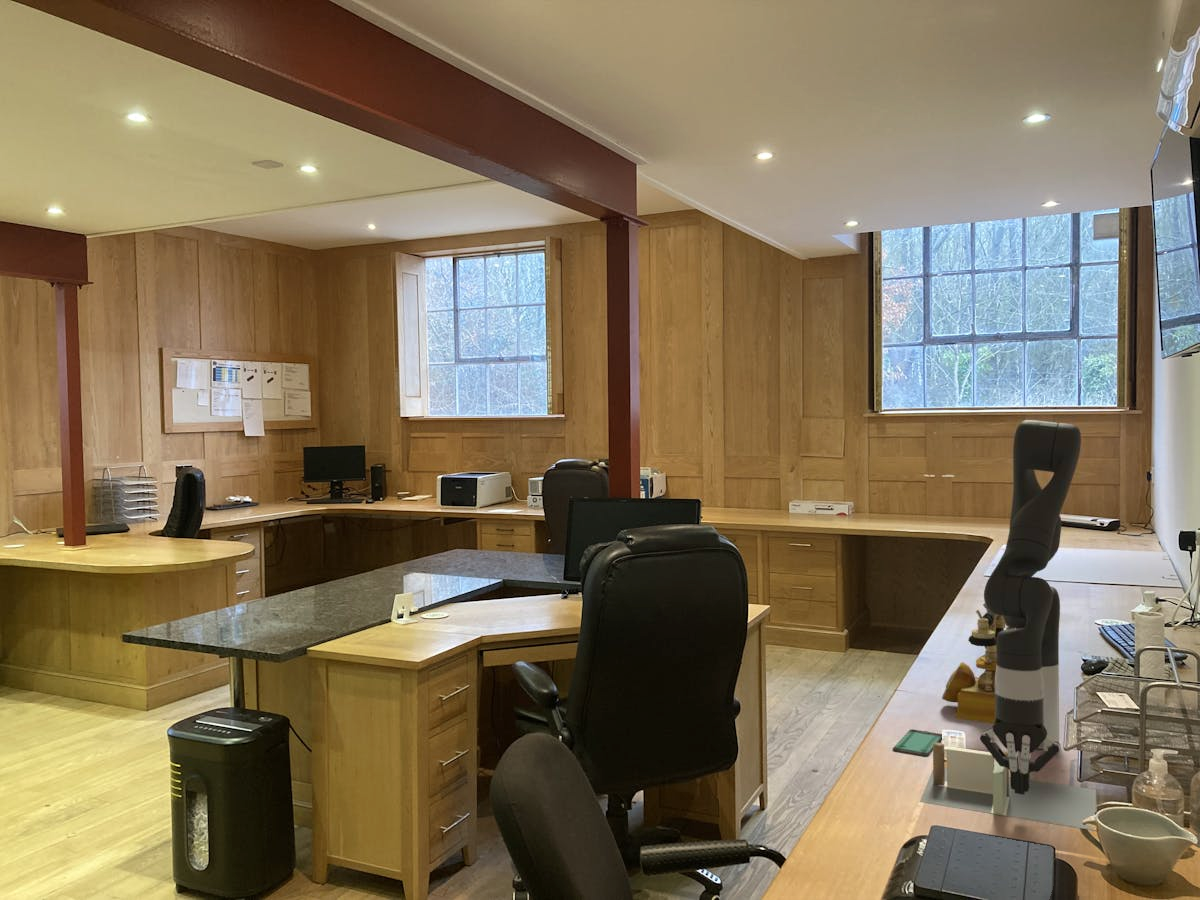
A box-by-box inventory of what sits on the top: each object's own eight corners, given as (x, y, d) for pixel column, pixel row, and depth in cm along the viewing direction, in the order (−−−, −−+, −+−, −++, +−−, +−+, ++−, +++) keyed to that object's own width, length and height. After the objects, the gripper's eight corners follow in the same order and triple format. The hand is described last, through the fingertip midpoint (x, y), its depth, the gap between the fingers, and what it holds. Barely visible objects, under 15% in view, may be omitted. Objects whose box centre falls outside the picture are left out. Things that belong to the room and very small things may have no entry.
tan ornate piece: (961, 683, 238) (960, 588, 237) (1036, 693, 228) (1035, 593, 228) (929, 722, 208) (928, 612, 208) (1013, 734, 199) (1012, 620, 198)
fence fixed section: (934, 780, 173) (933, 742, 173) (1009, 792, 167) (1008, 752, 167) (932, 784, 171) (932, 745, 171) (1008, 796, 165) (1008, 755, 165)
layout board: (934, 767, 180) (934, 765, 180) (1095, 791, 167) (1095, 788, 167) (919, 803, 164) (919, 800, 164) (1097, 833, 151) (1097, 830, 151)
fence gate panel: (997, 793, 165) (997, 755, 165) (1006, 795, 165) (1006, 757, 165) (993, 812, 157) (992, 772, 157) (1002, 814, 157) (1002, 774, 157)
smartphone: (944, 733, 198) (927, 754, 185) (944, 739, 198) (927, 760, 185) (909, 727, 202) (890, 748, 189) (909, 733, 202) (890, 754, 189)
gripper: (1064, 691, 156) (1064, 792, 156) (981, 681, 163) (982, 778, 163) (1060, 703, 150) (1061, 808, 150) (974, 692, 156) (975, 793, 157)
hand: (1019, 792), depth 157 cm, fingers closed
